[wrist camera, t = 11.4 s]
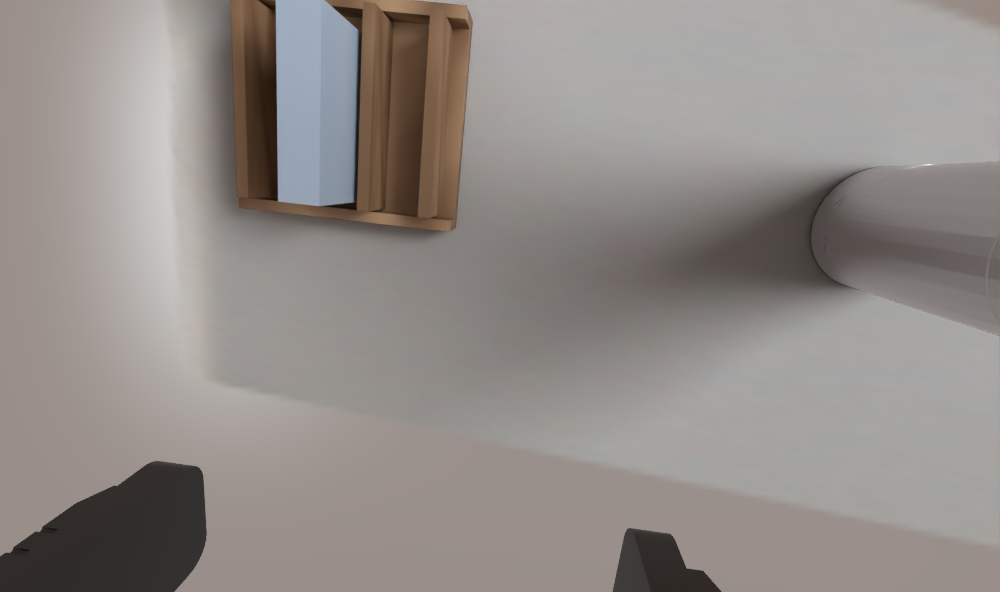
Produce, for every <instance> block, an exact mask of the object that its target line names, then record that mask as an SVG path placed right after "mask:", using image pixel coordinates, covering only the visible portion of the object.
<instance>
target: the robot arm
mask: <svg viewBox="0 0 1000 592" xmlns="http://www.w3.org/2000/svg"><path fill="white" fill-rule="evenodd" d="M811 246H812V250H813V254H814V257H815V260H816V261H817V263H818V265H819V266H820V268H821V269H822V270H823V271H824V272H825V273H826V274H827V275H828V276H829V277H830V278H832V279H834V280H835V281H837V282H839V283H841V284H844V285H847V286H850V287H853V288H856V289H859V290H862V291H865V292H868V293H871V294H874V295H877V296H879V297H882V298H885V299H888V300H891V301H894V302H897V303H901V304H904V305H907V306H910V307H913V308H916V309H919V310H922V311H925V312H928V313H931V314H934V315H937V316H940V317H943V318H947V319H950V320H953V321H956V322H959V323H962V324H965V325H968V326H971V327H974V328H977V329H980V330H983V331H986V332H989V333H992V334H996V335H999V336H1000V162H984V163H961V164H938V165H910V166H888V167H877V168H871V169H868V170H864V171H861V172H858V173H856V174H854V175H852V176H850V177H849V178H847V179H845V180H844V181H843V182H841V183H840V184H839V185H837V186H836V187H835V188H834V189H833V190H832V191H831V192H830V193H829V194H828V195H827V197H826V198H825V199H824V201H823V202H822V204H821V205H820V207H819V209H818V210H817V213H816V216H815V218H814V221H813V225H812V231H811ZM205 542H206V516H205V499H204V483H203V474H202V471H201V470H200V468H198V467H196V466H190V465H183V464H176V463H168V462H161V461H155V462H151V463H149V464H147V465H146V466H144V467H143V468H141V469H140V470H139V471H137V472H136V473H134V474H133V475H132V476H130V477H129V478H128V479H126V480H125V481H124V482H122V483H121V484H119V485H118V486H113V487H110V488H108V489H106V490H104V491H102V492H99V493H97V494H95V495H93V496H91V497H89V498H87V499H84V500H82V501H80V502H78V503H76V504H74V505H73V506H71V507H70V508H69V509H67V510H66V511H65V512H63V513H62V514H60V515H59V516H58V517H56V518H54V519H53V520H52V521H50V522H49V523H47V524H46V525H44V526H43V528H42V530H41V531H40V532H35V533H33V534H32V535H30V536H29V537H27V538H26V539H25V540H23V541H22V542H20V543H19V544H18V545H16V546H15V547H14V548H13V551H12V552H11V553H5V554H3V555H2V556H0V592H174V591H175V590H176V589H177V588H178V587H179V586H180V584H181V583H182V582H183V581H184V580H185V579H186V577H188V575H189V574H190V573H191V572H192V570H193V569H194V567H195V566H196V564H197V563H198V561H199V559H200V557H201V554H202V552H203V549H204V546H205ZM613 592H721V591H720V590H719V589H718V587H717V586H716V585H715V584H714V583H713V582H712V581H711V579H710V578H709V577H708V576H707V575H706V574H705V573H704V571H700V570H693V569H686V566H685V564H684V561H683V559H682V556H681V554H680V551H679V549H678V546H677V544H676V541H675V539H674V538H673V536H672V535H671V534H668V533H660V532H653V531H646V530H639V529H631V528H629V529H627V531H626V533H625V536H624V540H623V545H622V550H621V554H620V559H619V564H618V569H617V573H616V578H615V584H614V588H613Z"/></svg>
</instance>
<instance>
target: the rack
mask: <svg viewBox="0 0 1000 592" xmlns="http://www.w3.org/2000/svg"><path fill="white" fill-rule="evenodd" d="M325 1H326V2H327V3H328V4H330V5H331V6H332V7H333V8H334V9H335V10H336V11H337V12H339V13H340V14H341V15H342V16H343V17H344V18H345V19H346V20H348V21H349V22H350V23H351V24H352V25H353V26H354V27H355V28H357V29H358V30H359V31H360V32H361V33H362V52H361V86H360V120H359V154H358V188H357V202H352V203H343V204H334V205H326V206H313V205H304V204H296V203H287V202H278V151H277V64H276V0H231V29H232V58H233V88H234V118H235V148H236V177H237V197H239V208H246V209H255V210H263V211H272V212H281V213H290V214H298V215H307V216H316V217H325V218H333V219H342V220H351V221H360V222H368V223H377V224H386V225H395V226H403V227H412V228H421V229H430V230H438V231H447V232H449V231H451V230H453V229H454V228H456V218H457V206H458V193H459V181H460V169H461V157H462V145H463V133H464V120H465V108H466V96H467V84H468V72H469V60H470V47H471V35H472V23H473V22H472V19H471V16H470V13H469V10H468V7H467V5H456V4H446V3H436V2H425V1H415V0H325Z"/></svg>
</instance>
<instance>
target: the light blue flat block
mask: <svg viewBox="0 0 1000 592" xmlns="http://www.w3.org/2000/svg"><path fill="white" fill-rule="evenodd" d="M361 52H362V33H361V32H360V31H359V30H358V29H357V28H355V27H354V26H353V25H352V24H351V23H350V22H349V21H348V20H346V19H345V18H344V17H343V16H342V15H341V14H340V13H339V12H337V11H336V10H335V9H334V8H333V7H332V6H331V5H330V4H328V3H327V2H326V1H325V0H276V64H277V151H278V202H287V203H296V204H304V205H313V206H326V205H334V204H343V203H352V202H357V188H358V154H359V120H360V86H361Z"/></svg>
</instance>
